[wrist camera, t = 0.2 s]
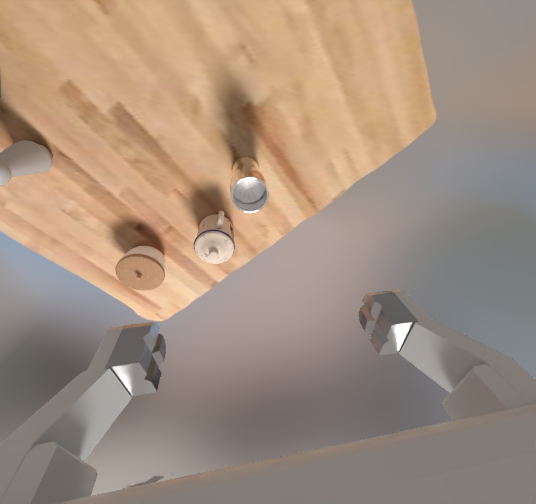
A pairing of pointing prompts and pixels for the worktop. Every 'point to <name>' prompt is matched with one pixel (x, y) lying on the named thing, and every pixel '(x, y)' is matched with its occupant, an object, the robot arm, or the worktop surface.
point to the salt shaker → (24, 160)
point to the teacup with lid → (215, 239)
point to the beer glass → (248, 186)
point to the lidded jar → (142, 268)
